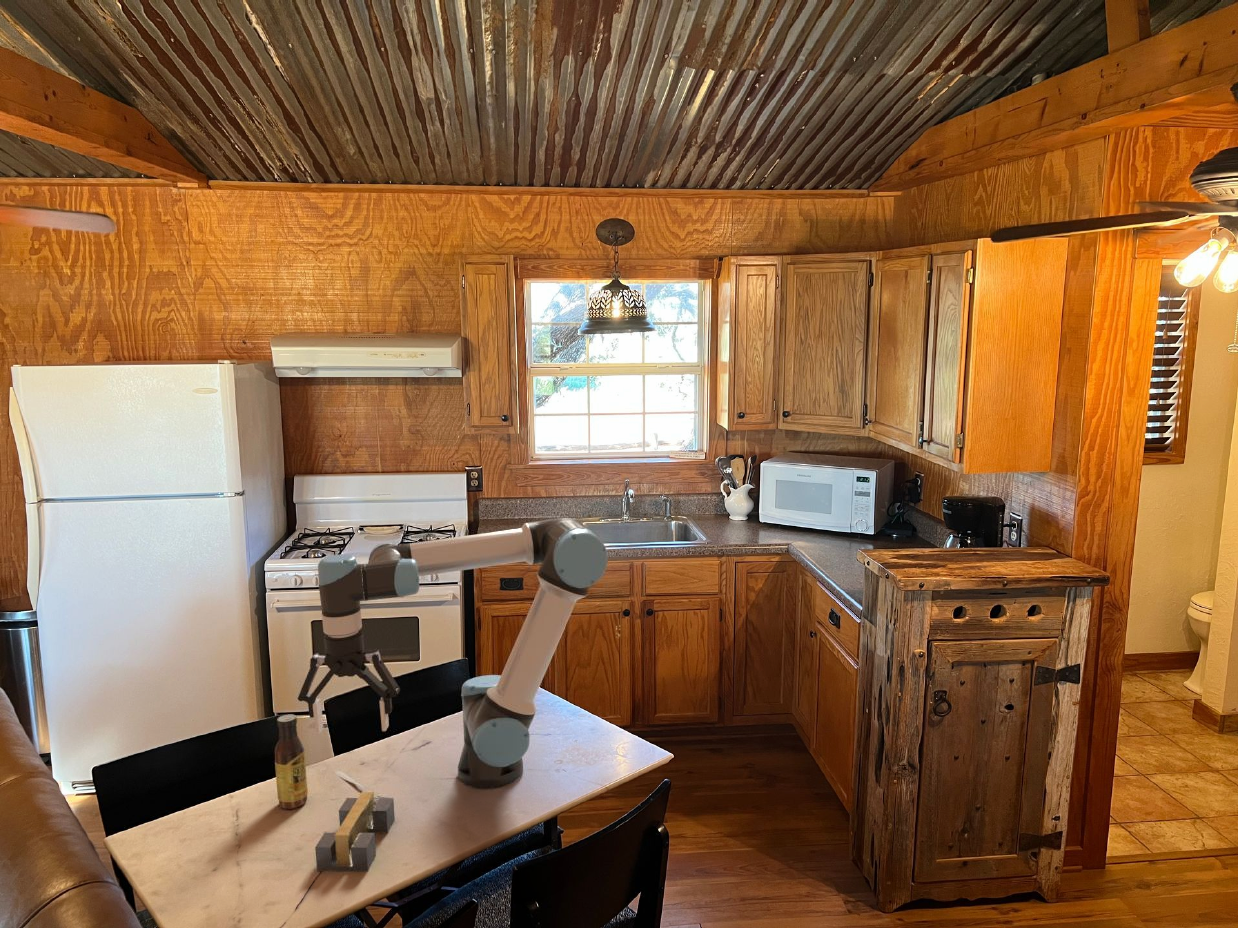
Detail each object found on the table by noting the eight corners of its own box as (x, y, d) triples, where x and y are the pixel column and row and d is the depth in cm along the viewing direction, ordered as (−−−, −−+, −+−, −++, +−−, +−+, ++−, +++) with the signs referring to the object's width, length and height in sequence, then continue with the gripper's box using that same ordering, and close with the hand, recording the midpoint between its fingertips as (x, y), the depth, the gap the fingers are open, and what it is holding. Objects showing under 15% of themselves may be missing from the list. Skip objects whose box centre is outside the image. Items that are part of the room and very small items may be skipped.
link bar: (375, 818, 188) (373, 791, 187) (349, 863, 172) (347, 835, 171) (363, 817, 188) (361, 791, 187) (337, 863, 172) (334, 834, 171)
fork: (337, 766, 213) (337, 759, 213) (389, 803, 196) (388, 796, 196) (325, 771, 211) (324, 764, 211) (376, 809, 194) (375, 802, 194)
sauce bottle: (300, 811, 193) (292, 725, 190) (273, 809, 194) (264, 724, 190) (314, 794, 199) (306, 712, 196) (287, 793, 200) (279, 711, 197)
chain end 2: (376, 855, 176) (374, 832, 175) (368, 871, 171) (366, 847, 170) (326, 855, 177) (324, 832, 176) (317, 870, 172) (315, 847, 171)
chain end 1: (394, 819, 189) (393, 797, 188) (387, 832, 184) (386, 810, 183) (348, 819, 189) (346, 797, 189) (340, 832, 184) (338, 810, 184)
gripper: (408, 622, 184) (416, 718, 187) (288, 627, 183) (298, 724, 187) (400, 635, 176) (409, 735, 180) (274, 640, 176) (285, 740, 180)
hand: (352, 729), depth 183 cm, fingers open, 13 cm apart
